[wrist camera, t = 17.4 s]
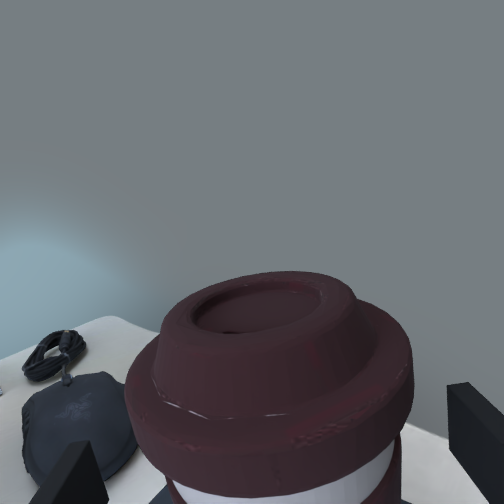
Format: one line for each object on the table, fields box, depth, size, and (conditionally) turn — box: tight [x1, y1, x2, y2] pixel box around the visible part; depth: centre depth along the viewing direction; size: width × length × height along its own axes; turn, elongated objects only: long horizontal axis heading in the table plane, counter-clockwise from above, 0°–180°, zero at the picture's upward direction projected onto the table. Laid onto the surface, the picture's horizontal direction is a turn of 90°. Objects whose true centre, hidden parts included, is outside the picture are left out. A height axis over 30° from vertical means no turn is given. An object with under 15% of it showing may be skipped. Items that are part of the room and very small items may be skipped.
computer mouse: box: [22, 330, 138, 486], centre depth 36 cm, size 10×32×6 cm, turn 37°
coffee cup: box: [124, 271, 414, 504], centre depth 13 cm, size 10×10×15 cm
